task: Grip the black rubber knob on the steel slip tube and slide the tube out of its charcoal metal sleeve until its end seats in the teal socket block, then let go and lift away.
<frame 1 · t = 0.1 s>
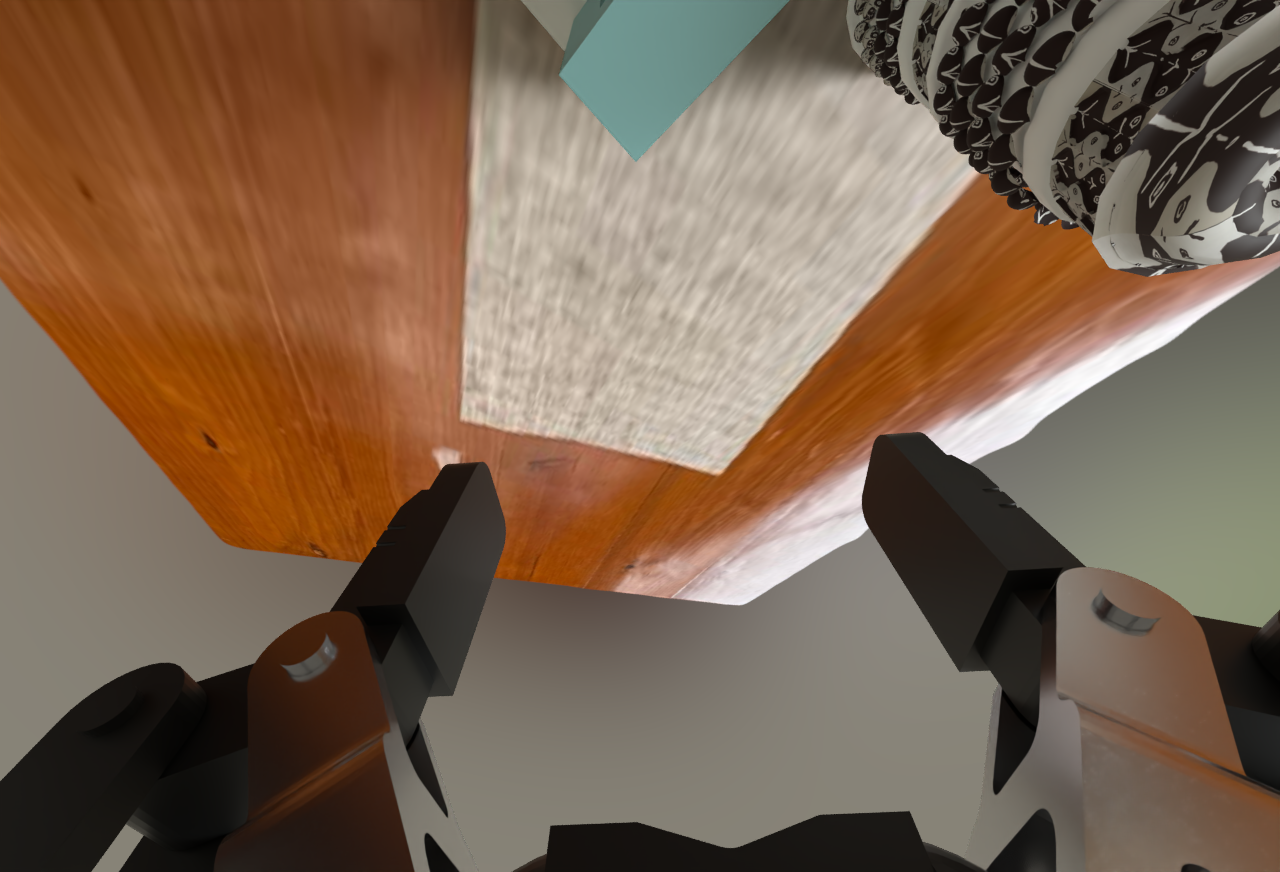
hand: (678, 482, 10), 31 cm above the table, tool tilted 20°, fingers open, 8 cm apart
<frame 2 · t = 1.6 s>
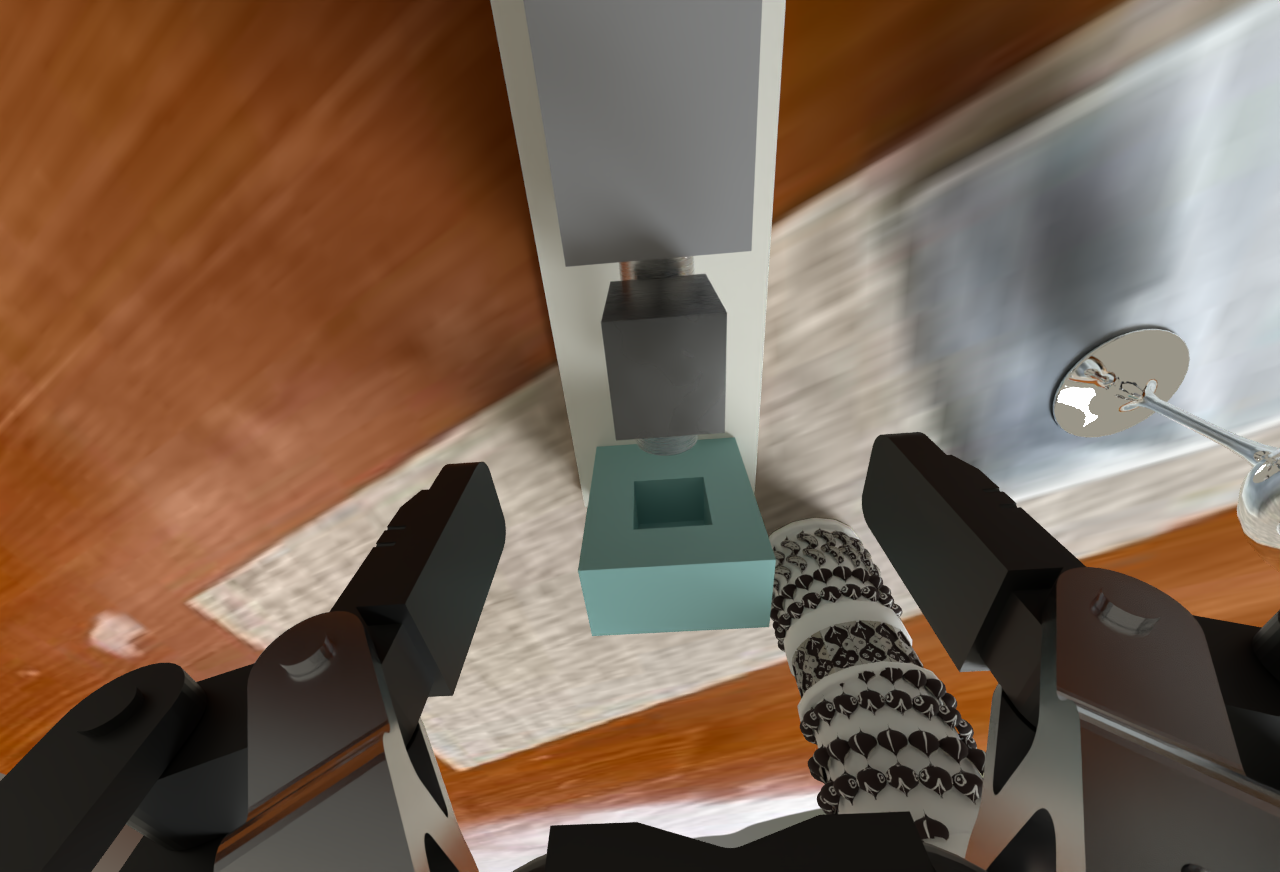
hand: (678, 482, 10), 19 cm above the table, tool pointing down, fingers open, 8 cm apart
wineglass: (1113, 383, 29), on the table
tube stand: (653, 259, 25), on the table
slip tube: (654, 206, 15), point 10 cm above the table, slide at 0.0 cm
socket: (665, 454, 32), resting on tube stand
decorative candle: (806, 555, 38), on the table
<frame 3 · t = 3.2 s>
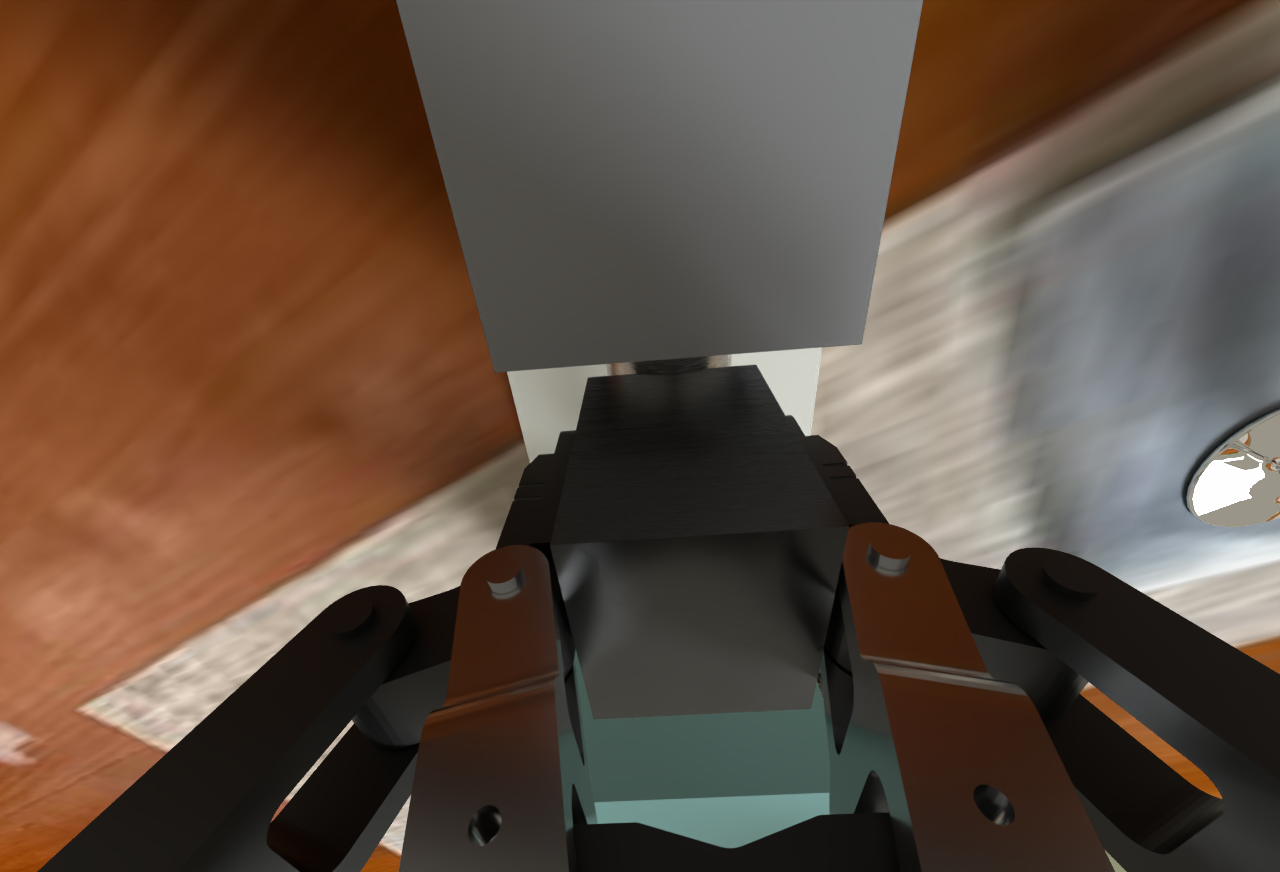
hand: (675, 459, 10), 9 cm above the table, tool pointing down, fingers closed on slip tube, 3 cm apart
wineglass: (1270, 461, 22), on the table
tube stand: (658, 304, 18), on the table
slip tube: (668, 257, 8), point 10 cm above the table, slide at 0.0 cm, touching gripper
socket: (672, 547, 25), resting on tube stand
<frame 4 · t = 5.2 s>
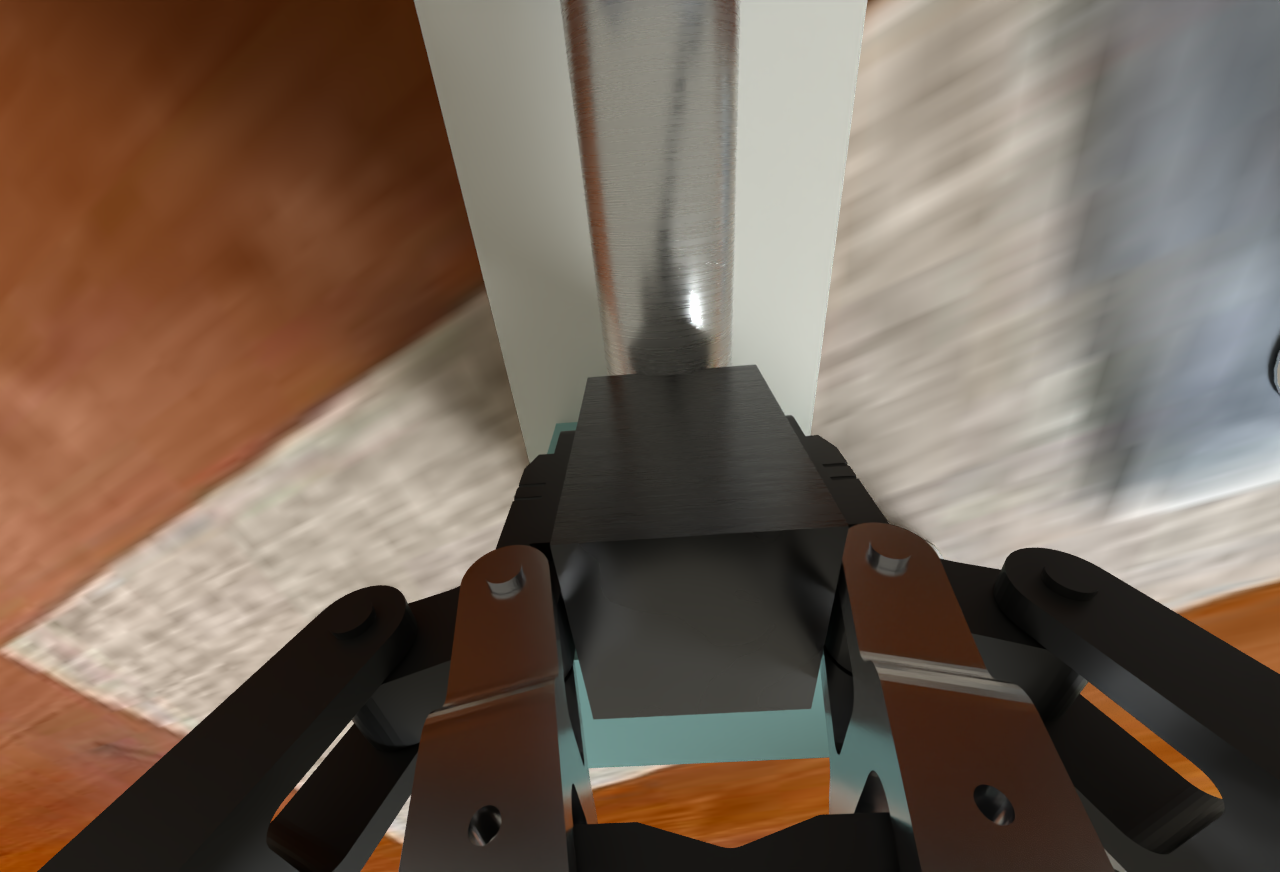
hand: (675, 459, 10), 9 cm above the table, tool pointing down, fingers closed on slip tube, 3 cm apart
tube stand: (644, 83, 14), on the table
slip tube: (668, 257, 8), point 10 cm above the table, slide at 6.9 cm, touching gripper
socket: (666, 437, 21), resting on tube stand
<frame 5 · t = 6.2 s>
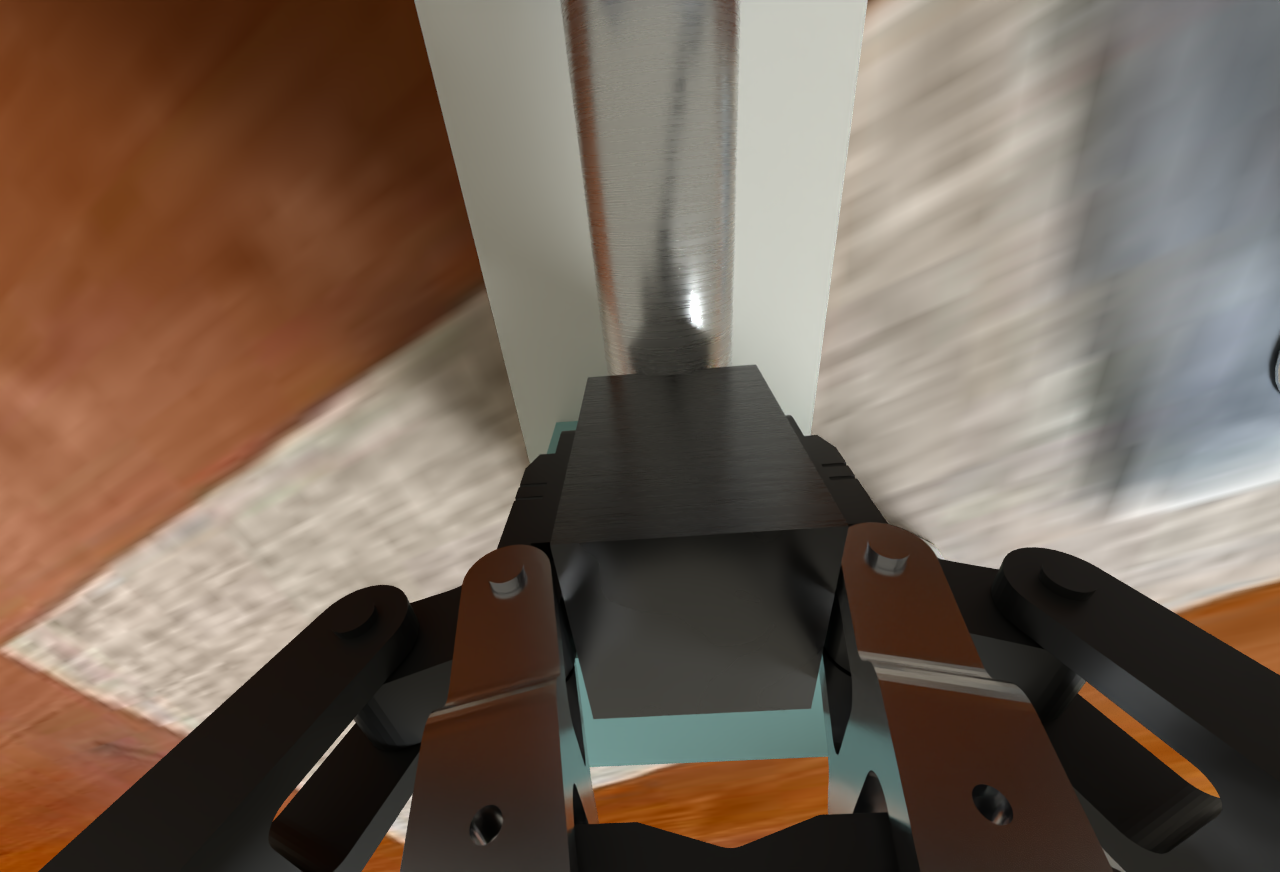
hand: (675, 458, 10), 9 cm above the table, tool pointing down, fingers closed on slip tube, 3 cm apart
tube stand: (644, 81, 14), on the table
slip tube: (668, 257, 8), point 10 cm above the table, slide at 7.0 cm, touching gripper
socket: (666, 437, 21), resting on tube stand
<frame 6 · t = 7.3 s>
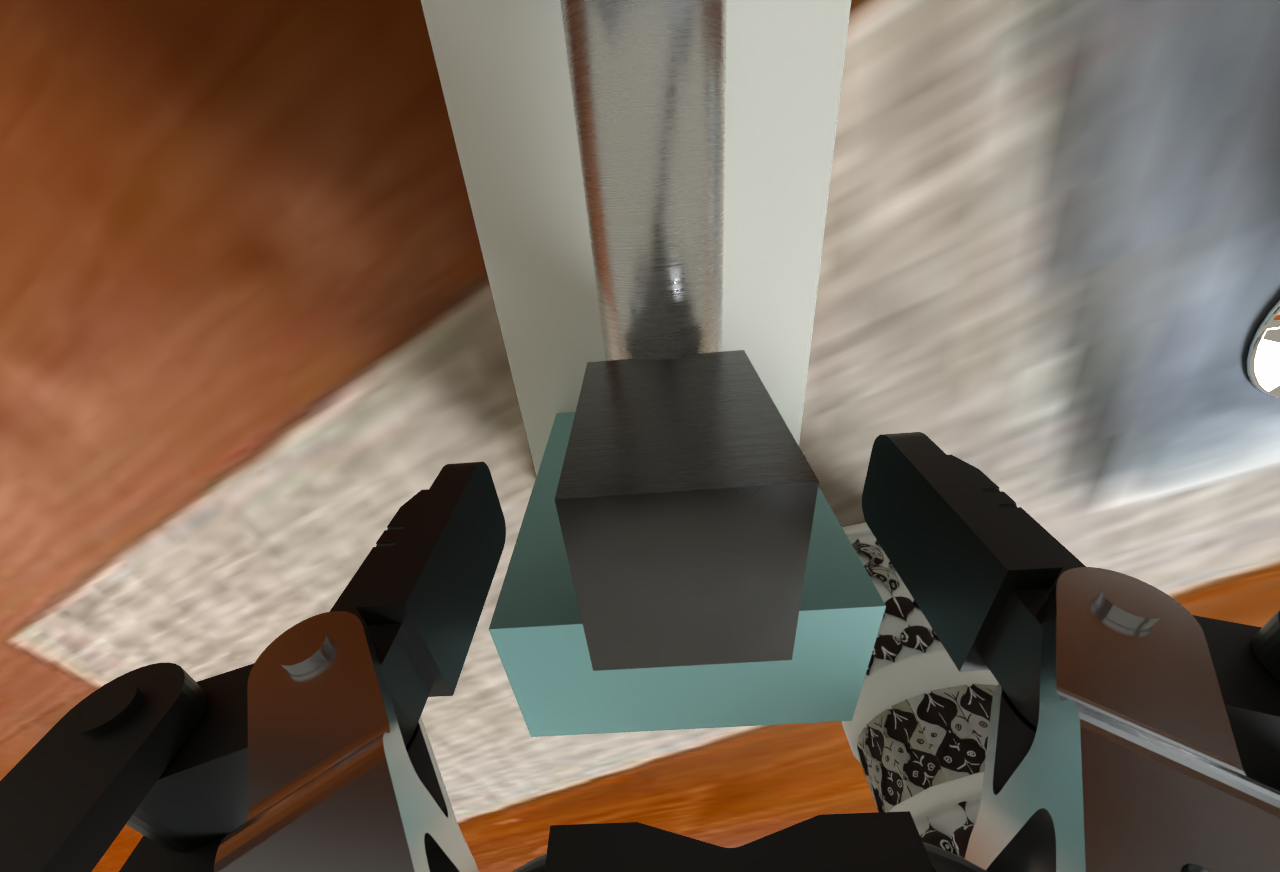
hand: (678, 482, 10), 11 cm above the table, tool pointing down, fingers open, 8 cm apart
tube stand: (640, 85, 15), on the table
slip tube: (661, 248, 8), point 10 cm above the table, slide at 7.0 cm
socket: (662, 428, 22), resting on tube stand
decorative candle: (857, 572, 27), on the table
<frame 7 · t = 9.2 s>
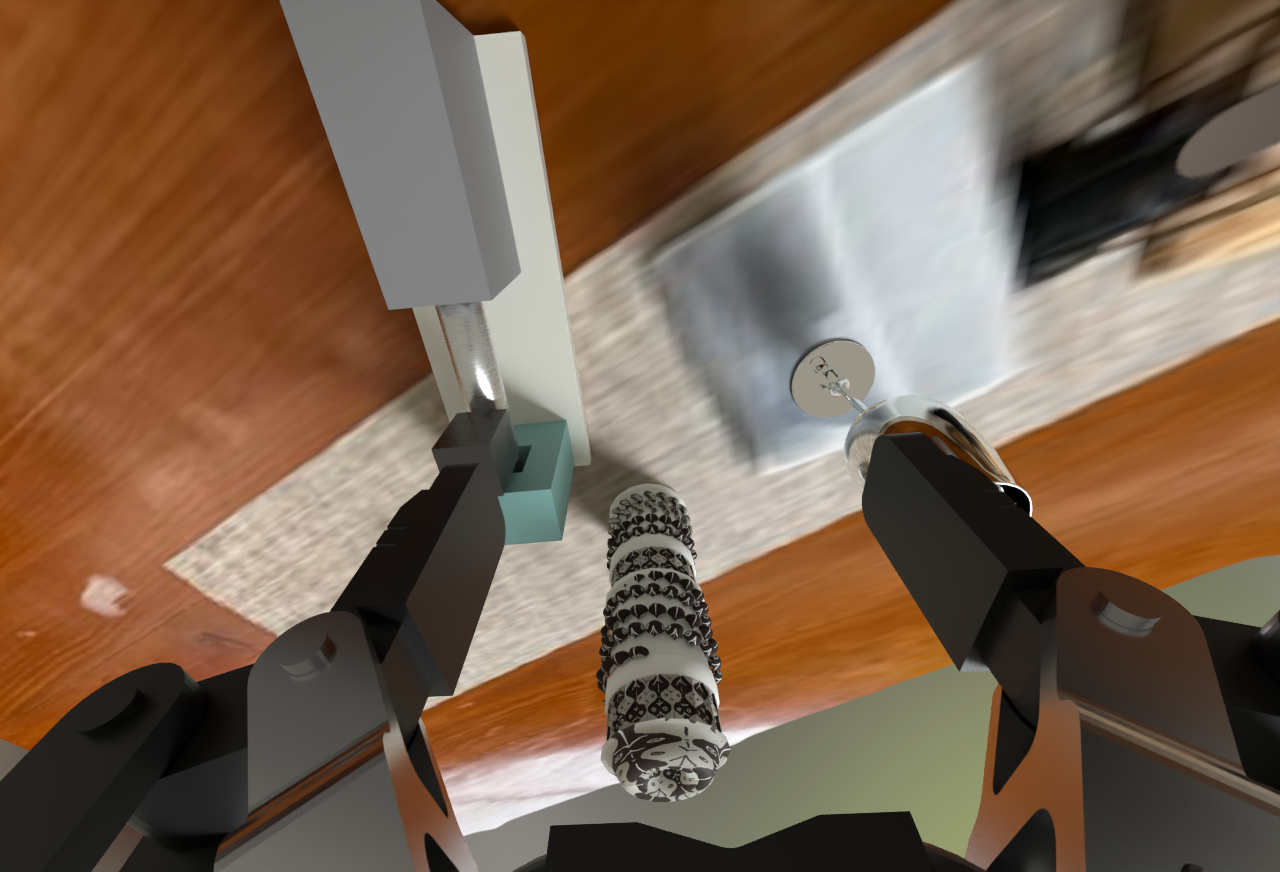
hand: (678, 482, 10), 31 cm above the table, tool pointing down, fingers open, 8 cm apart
wineglass: (831, 379, 42), on the table
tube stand: (492, 298, 37), on the table
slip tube: (467, 384, 31), point 10 cm above the table, slide at 7.0 cm
socket: (525, 435, 44), resting on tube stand
decorative candle: (647, 514, 49), on the table
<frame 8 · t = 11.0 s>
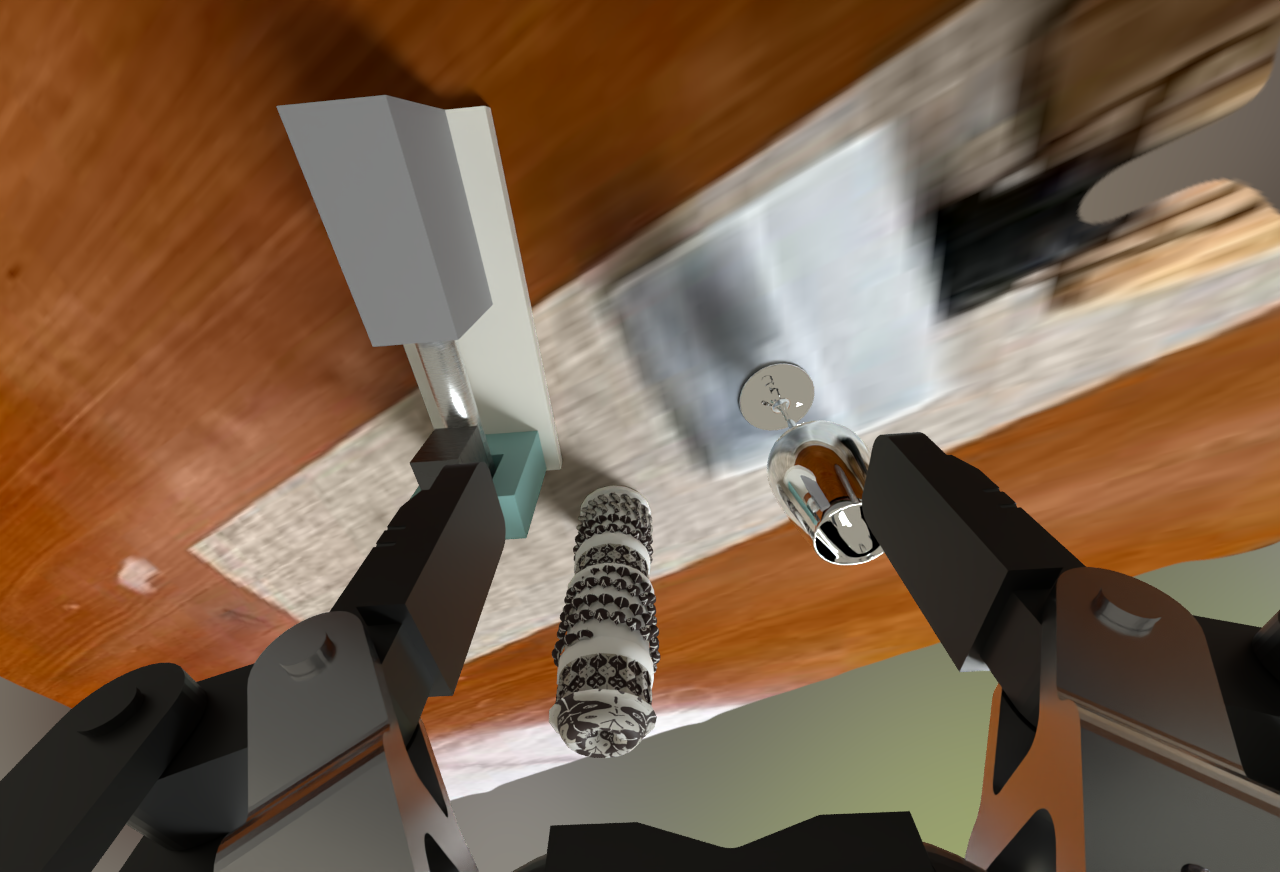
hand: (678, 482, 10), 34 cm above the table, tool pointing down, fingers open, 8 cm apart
wineglass: (775, 396, 47), on the table
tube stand: (469, 324, 43), on the table
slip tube: (442, 406, 36), point 10 cm above the table, slide at 7.0 cm
socket: (502, 442, 49), resting on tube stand
decorative candle: (615, 512, 55), on the table
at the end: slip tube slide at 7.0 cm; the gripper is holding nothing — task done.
